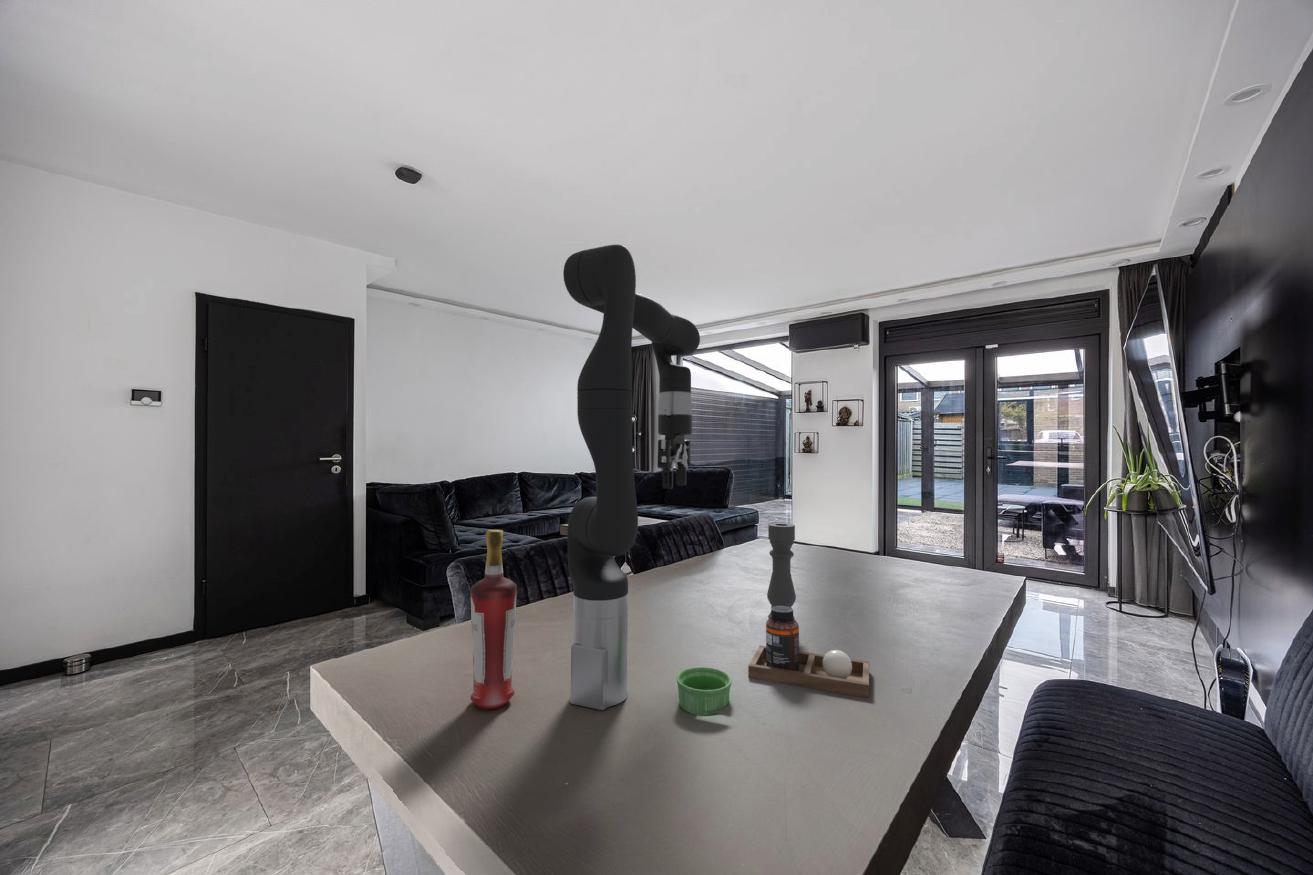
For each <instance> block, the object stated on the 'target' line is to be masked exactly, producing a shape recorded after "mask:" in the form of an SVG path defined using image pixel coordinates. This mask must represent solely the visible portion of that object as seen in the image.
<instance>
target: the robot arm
mask: <svg viewBox="0 0 1313 875" xmlns="http://www.w3.org/2000/svg"><path fill="white" fill-rule="evenodd" d="M562 274H563V281H564V286H565V288H566V290H567V292H568V294H569V296H570V297H571V298H572V299H573V300H574V302H576V303H578V304H579V305H582V306H584V307H586V308H588V309H592V310H594V311H597V312H599V313H602V314H603V316H602V324H601V328H600V332H599V335H598V337H597V339H596V342H595V344H594V346H593V348H591V351H590V353H589V355H588V357H587V359H586V360H585V362H584V365H583V366H582V368H581V370H580V373H579V376H578V380H577V388H576V390H577V392H576V394H577V396H576V397H577V398H576V399H577V412H576V413H577V422H578V425H579V426H578V427H579V429H580V432H581V435H582V437H583V440H584V442H585V444H586V446H587V449H588V452H589V454H590V457H591V460H592V463H593V465H594V469H595V470H594V471H595V478H596V480H595V481H596V484H595V485H596V496H587V497H584V498H582V499H580V500H579V501H577V502H576V503H575V505H573V507H572V509H571V511H570V513H569V517H568V522H567V530H566V531H567V537H566V539H567V560H568V562H567V564H568V574H569V577H570V580H571V582H572V586H573V588H572V589H573V592H572V594H573V595H572V596H573V606H572V607H573V609H572V612H573V614H572V616H573V617H572V644H571V646H570V696H569V698H570V700H569V702H570V704H572V705H577V706H581V707H584V708H585V707H586V708H589V709H596V710H600V711H605V710H606V709H607V708H611V707H612V706H613V707H614V706H617V705H619V704H621V703H623V701H625V700H626V699H627V697H628V659H629V658H628V652H629V651H628V649H629V647H628V645H629V643H628V642H629V640H628V639H629V635H628V634H629V632H628V631H629V630H628V629H629V624H628V623H629V579H628V575H626V573H625V572H624V571H623V570H622V569H621V568H620V567H619V566H618V563H617V562H616V560H615V557H621V556H623V555H626V554H627V553H628V552H629V551H630V550H631V549H632V547H633V546H634V544H635V541H636V540H637V539H636V538H637V535H638V531H639V530H638V529H639V515H638V505H637V504H638V503H637V502H638V501H637V495H636V494H637V493H636V485H635V475H634V474H635V472H634V462H633V461H634V458H633V457H634V456H633V452H634V451H633V378H632V374H633V373H632V372H633V371H632V368H633V367H632V366H633V364H632V357H633V356H632V355H633V354H632V350H633V349H632V347H633V346H632V342H633V330H634V331H637V332H638V333H639V334H640V335H641V336H643V337H644V338H646V339H647V340H649V341H651V347H652V350H653V354H654V358H655V360H656V361H655V362H656V365H657V366H656V367H657V369H658V370H657V371H658V376H659V380H658V382H659V384H658V386H659V391H658V392H659V393H658V401H657V433H658V435H659V436H664V439H658V441H657V463H656V466H657V468H658V469H660V470H661V471H662V474H661V476H662V477H661V478H662V482H661V483H662V486H661V487H662V488H663V489H664V490H665V489H667V490H671V489H673V488H674V467H675V468H676V470H675V471H676V473H675V477H676V478H675V480H676V482H675V485H677V486H678V487H684V486H686V485H687V470H688V468H689V467H691V441H690V440H689V439H685V436H691V435H692V434H693V402H692V371H691V369H690V368H689V367H688V366H685V365H681V364H675V363H674V361H673V359H672V357H673V356H684V355H685V356H686V355H691V354H693V353H694V352H696V351H697V349H698V348H699V345H700V343H701V335H700V333H699V330H698V328H697V326H696V325H695V324H694V323H693V322H692V321H691V320H689V319H687V318H684V317H682V316H680V315H677V314H674V313H671V312H669V311H668V310H667V309H666V308H665V307H664V306H663V305H662V304H661V303H659V302H658V301H657V300H655V299H653V298H651V297H648V296H646V295H644V294H640V293H637V292H636V288H637V284H636V283H637V282H636V281H637V277H636V266H635V261H634V258H633V256H632V253H631V252H630V250H629V249H628V248H627V246H625V245H622V244H616V243H615V244H609V245H604V246H599V247H594V248H589V249H584V250H580V251H577V252H575V253H573V254H570V256H568V257H567V258H566V261H565V263H564V265H563V273H562Z"/></svg>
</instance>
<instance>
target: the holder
mask: <svg viewBox="0 0 1313 875" xmlns="http://www.w3.org/2000/svg"><path fill="white" fill-rule="evenodd" d="M824 656H825V654H821V653H820V654H819V653H813V652H808V651H802V650H801V651H800V650H799V671H793V670H786V669H780V668H774V667H768V666H766V645H765V646H764V645H759V646H758V648H757V650H756V651H755V653H754V655H753V657H752V659H751V661H750V662H749V663H748V667H747V668H748V669H747V671H748V672H747V674H748V678H750V679H751V678H752V679H756V680H763V681H769V682H774V683H780V684H781V683H782V684H787V685H791V686H797V687H804V688H810V689H816V690H820V691H821V690H822V691H827V692H832V693H838V694H843V695H844V694H845V695H849V696H850V695H851V696H857V697H863V698H867V699H868V698H870V661H868V660H860V659H855V658H850V660H851V662H852V672H851V674H850V675H849V677H848V678H846V679H842V678H836V677H830V676H828V675H827V674H826V673H825V671H824V669H823V664H822V663H823V658H824Z"/></svg>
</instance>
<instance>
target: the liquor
mask: <svg viewBox="0 0 1313 875" xmlns="http://www.w3.org/2000/svg"><path fill="white" fill-rule="evenodd" d="M503 542H504V530H503V529H490V530H489V529H488V530H485V543H486V549H487V552H486V559H485V561H486V562H485V569H484V578H482V579H480V580H478V581H476V583H474V584H473V585H472V586H471V587H470V593H469V594H470V621H471V622H470V623H471V625H470V626H471V636H472V637H471V638H472V639H471V640H472V667H473V668H472V669H473V670H472V672H473V676H472V678H473V683H472V684H473V685H472V686H473V691H472V692H471V695H470V701H471V702H473V704H474V705H476V706H477V707H478V708H480V709H481V710H489V711H490V710H496V709H499V708H502V707H503V706H505V705H506V704H507V703H508V702H509V701H510V700H511V699H512V698H513V696H514V695H515V690H514V688H513V687H512V686H513V685H512V681H513V660H514V657H513V656H514V655H513V654H514V641H515V640H514V639H515V638H514V636H515V625H516V612H517V610H516V608H517V589H518V584H516V582H514V581H513V580H512V579H510V578H507V577H504V568H503V566H504V565H503V557H502V554H503V553H502V548H503Z"/></svg>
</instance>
